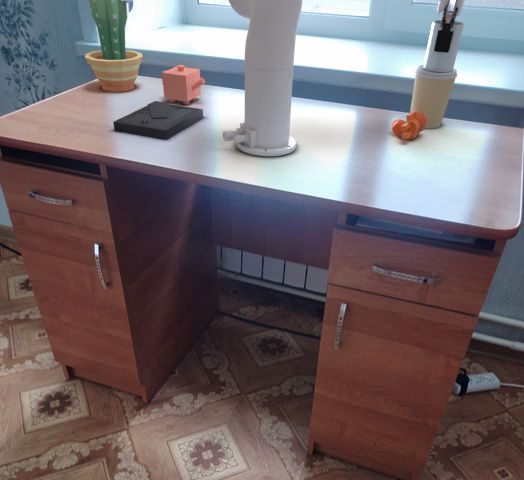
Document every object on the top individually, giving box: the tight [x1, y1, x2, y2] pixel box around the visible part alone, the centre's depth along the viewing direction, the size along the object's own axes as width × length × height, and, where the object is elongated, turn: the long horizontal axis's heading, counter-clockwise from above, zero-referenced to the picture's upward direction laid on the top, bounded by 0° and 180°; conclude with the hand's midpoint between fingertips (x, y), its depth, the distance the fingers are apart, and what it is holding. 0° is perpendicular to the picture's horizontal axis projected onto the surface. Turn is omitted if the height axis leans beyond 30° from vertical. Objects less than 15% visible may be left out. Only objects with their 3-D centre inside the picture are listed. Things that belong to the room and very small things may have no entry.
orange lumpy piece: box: [390, 110, 427, 140], centre depth 115 cm, size 5×8×12 cm
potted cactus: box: [84, 0, 143, 93], centre depth 133 cm, size 16×15×25 cm
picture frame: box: [112, 100, 204, 140], centre depth 117 cm, size 13×2×18 cm
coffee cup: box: [409, 64, 458, 129], centre depth 120 cm, size 9×9×12 cm
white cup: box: [422, 19, 465, 72], centre depth 113 cm, size 7×7×9 cm
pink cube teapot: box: [161, 64, 206, 105], centre depth 130 cm, size 8×12×8 cm, turn 69°
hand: (442, 48), depth 114 cm, fingers closed on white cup, 6 cm apart
